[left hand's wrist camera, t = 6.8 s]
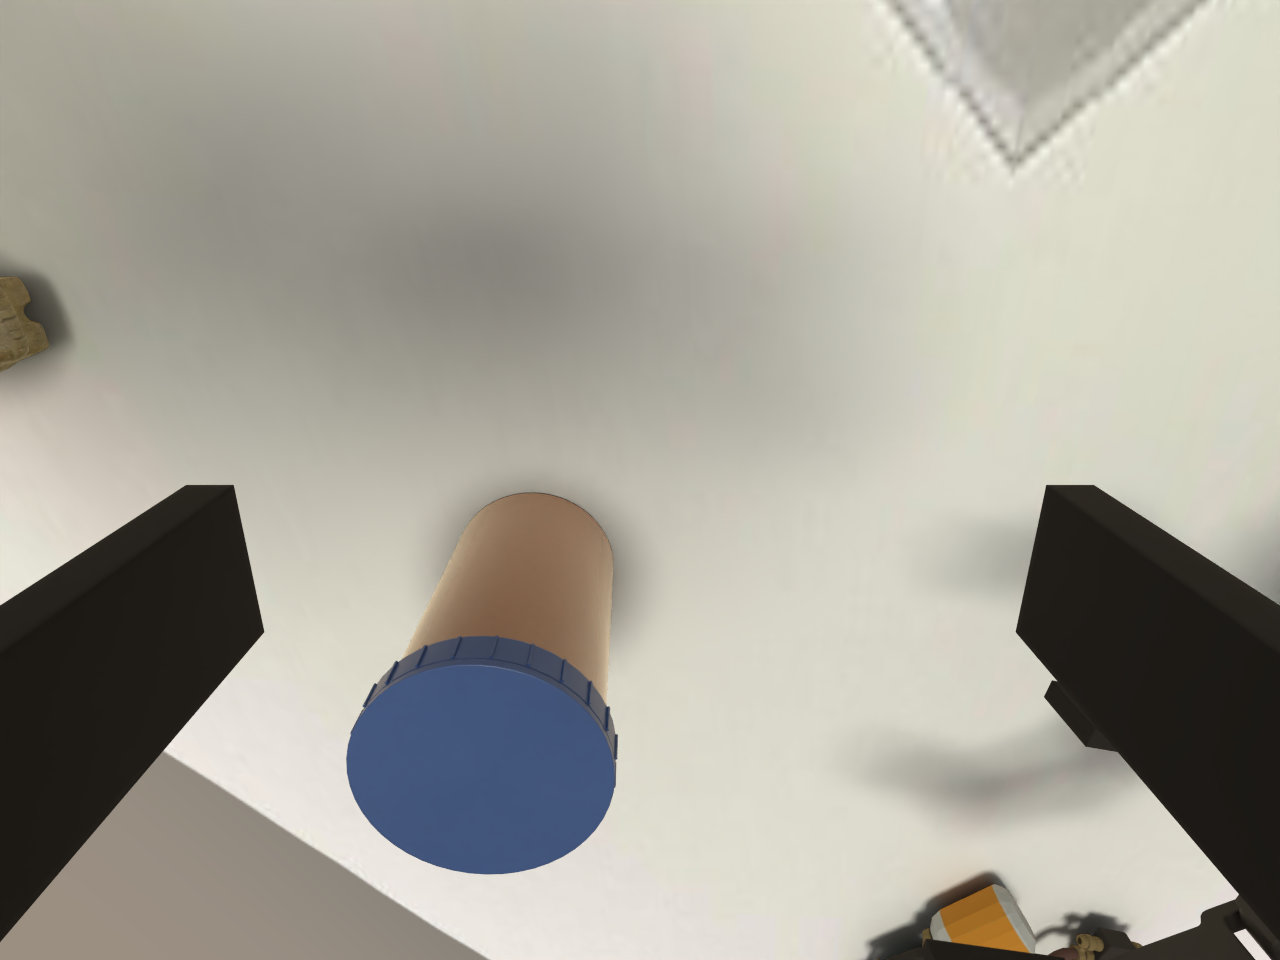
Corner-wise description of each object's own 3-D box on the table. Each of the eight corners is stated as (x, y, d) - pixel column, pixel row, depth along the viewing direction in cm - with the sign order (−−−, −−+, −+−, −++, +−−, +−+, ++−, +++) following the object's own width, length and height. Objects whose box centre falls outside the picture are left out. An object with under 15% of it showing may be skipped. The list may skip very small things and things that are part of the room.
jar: (579, 471, 39) (547, 636, 25) (635, 604, 42) (636, 820, 28) (430, 522, 40) (318, 710, 26) (496, 649, 43) (428, 880, 29)
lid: (560, 598, 26) (555, 626, 24) (653, 799, 29) (654, 836, 28) (314, 679, 27) (293, 711, 25) (431, 863, 30) (419, 902, 29)
